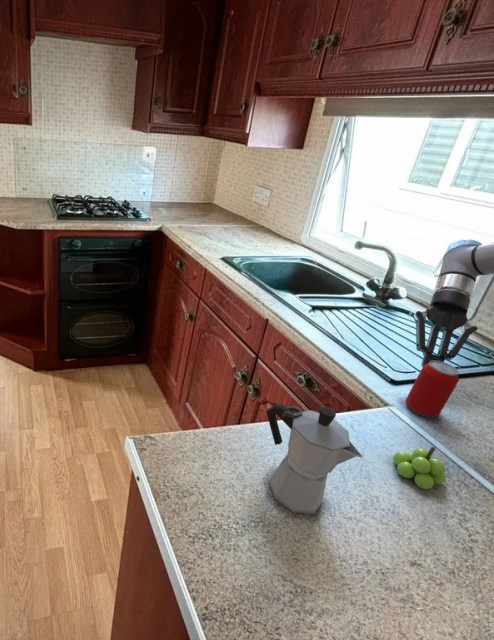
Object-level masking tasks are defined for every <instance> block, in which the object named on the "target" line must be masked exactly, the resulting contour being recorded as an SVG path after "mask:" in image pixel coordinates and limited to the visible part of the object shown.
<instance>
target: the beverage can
mask: <svg viewBox="0 0 494 640" xmlns="http://www.w3.org/2000/svg"><path fill="white" fill-rule="evenodd" d="M459 381H460V377H459V370H458V369H457V368H456V367H455V366H453V365H451V364H449V363H447V362H445V361H444V362H441V361H436V360H433V361H430V362H429V363H428V364H426V365H424V366H423V367H422V368H421V370H420V371H419V373H418V375H417V377H416V378H415V381H414V383H413V385H412V387H411V389H410V391H409V393H408V395H406V398H405V404H406V405H407V406H408V407H409V409H410V410H411V411H413V412H414V413H416V414H418V415H420V416H422V417H428V418H436V417H438V416H440V414H441V413H442V411H443V409H444V407H445V406H446V404H447V403H448V401H449V399H450V397H451V395H452V393H453V392H454V390H455V388H456V387H457V385H458V383H459Z"/></svg>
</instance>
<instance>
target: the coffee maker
mask: <svg viewBox="0 0 494 640" xmlns="http://www.w3.org/2000/svg"><path fill="white" fill-rule="evenodd" d="M276 415H277V416H278V417H279V419H280V420H281V421H282V422H283V423H284V424H286V426H287V427H288V428H289V429H290V434H289V438H288V443H287V454H286V455H285V456H284V457H283V459H282V460H281V462H280V463H279V465H278V466H277V468H276V470H275V471H274V473H273V474H272V476H271V477H270V479H269V480H268V482H267V483H268V485H269V488H270V491H271V494H272V496H273V499H274V500H275V501H277V502H278V503H279V504H281V505H282V506H283V507H285V508H286V509H288V511H290V512H291V513H292V514H293V513H295V514H304V515H314V514H315V513H316V512H317V511H318V509H319V508H320V507H321V505H322V504H323V499H324V494H325V488H326V484H327V479H328V476H329V475H328V474H329V473H332V471H334V469H335V468H336V467H337V466H338V465H340V464H342V463H345V462H347V461H349V460H352V459H354V458H356V457H357V458H363V455H362V454H361V453H360V452H359V450H358V449H357V447H355V445H354V444H353V443H352V442H351V440H350V431H349V430H347V429H346V428H345V427H344V426H343V425H342V424H340V423H339V422H338V421H337V420H336V419H335V418H336V417H337V413H336V411H335V410H334V409H332V408H330V407H328V406H321V407H319V412H317V411H314V410H311V409H308V410H305V411H302V408H300V407H299V406H296V405H291V406H289V407H287V406H285V405H283V404H280V403H275V404H274V405H273V406H271V407H270V408H268V409H267V410H266V416H267V420H268V425H269V427H270V432H271V435H272V440H273V443H274V445H275V446H277V445H281V444H282V443H283V439H282V438H283V437H282V435H281V430H280V427H279V423H278V420H277V416H276Z"/></svg>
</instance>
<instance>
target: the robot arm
mask: <svg viewBox="0 0 494 640" xmlns="http://www.w3.org/2000/svg"><path fill="white" fill-rule="evenodd" d="M441 262H442V263H441V267H440V270H439V275H438V276H437V277H438V278H437V280H436V284H435V287H434V290H433V294H432V297H431V300H430V302H429V306H428V308H427V309H425V310H424V311H420V310H417V311H416V312H415V313H413V316H412V318H413V320H414V322H415V347H416V348H415V349H416V351H417V352H421V353H422V355H423V357H422V361H421V363H420V364H421V367H422V368H423V366H424V365H426V364H428V363H429V362H430V361H433V360H436V361H441V362H444V363H445V360H446V361H452V360H453V359H454V358H456V357H457V355H458V354H459V352H460V351H461V349H462V348H463V346H464V345H465V343H466V342H467V340H468V339H469V337H470V336H471V335H472V334H474V333H475V332H477V331H478V329H479V328H478V326H476V325H471V324H470V322H468V321H469V319H468V315H467V314H468V311H469V307H470V303H471V299H472V296H473V294H474V289H475V284H476V282H477V279H478V277H479V276H481V277H482V276H486V275H487V276H489V275H494V241H493V242H488V243H484V244H483V243H482V242H480V241H478V240H476V239H464V238H463V239H457V240H454V241H452V242H450V243H449V244H448V245H447V248H446V251H445V252H444V255H443V257H442V261H441ZM426 319H427V320H428V322H429V324H430V325H431V327H430V329H429V335H428V337H427V341H426ZM461 327H462V329H461V332H462V333H461V334H460V335H459V336H458V338H457V339H456V340H455V343H454V344H453V345H452V346H451V348H450V350H449V347H450V343H451V340H452V337H453V333H454V332H455V330H457V329H459V328H461ZM440 330H441V331H442V335H441V340H440V343H439V346H438V350H437V354H435V353H434V351H435V348H436V345H437V341H438V337H439V334H440V332H441V331H440Z"/></svg>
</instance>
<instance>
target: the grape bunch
mask: <svg viewBox="0 0 494 640" xmlns="http://www.w3.org/2000/svg"><path fill="white" fill-rule="evenodd" d="M435 450H436V447H435V446H431V447H430V449H429V450H428V451H427V449H425V448H419V447H418V448H415V449H413V451H411V452H409V451H408V452H403V451H397V452H395V454H394V455H393V457H392V460H393V463H394V464H395V465H396V470H397V472H398V474H399V475H400V476H401V477H403V478H406V479H411V478H413V480H414V483H415V485H416V486H417V487H418V488H420V489H422V490H430V489H432V488H433V486H434V485H443V484H444V483H445V482H446V481H447V475H446V473H445V472H446V465H445V464H444V463H443V461H441V460H440V459H437V458H432V456H433V454H434V452H435Z"/></svg>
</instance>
